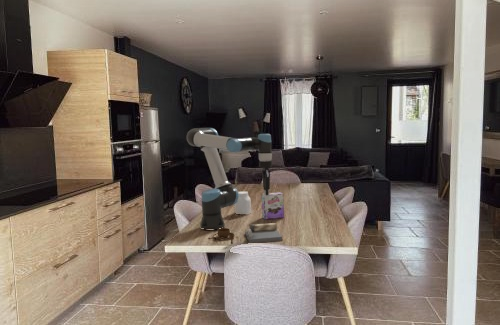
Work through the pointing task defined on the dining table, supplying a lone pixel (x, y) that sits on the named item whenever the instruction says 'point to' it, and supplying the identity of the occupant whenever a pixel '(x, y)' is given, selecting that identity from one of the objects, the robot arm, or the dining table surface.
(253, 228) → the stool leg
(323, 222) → the dining table surface
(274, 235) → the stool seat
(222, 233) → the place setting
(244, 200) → the jar
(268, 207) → the candy box
